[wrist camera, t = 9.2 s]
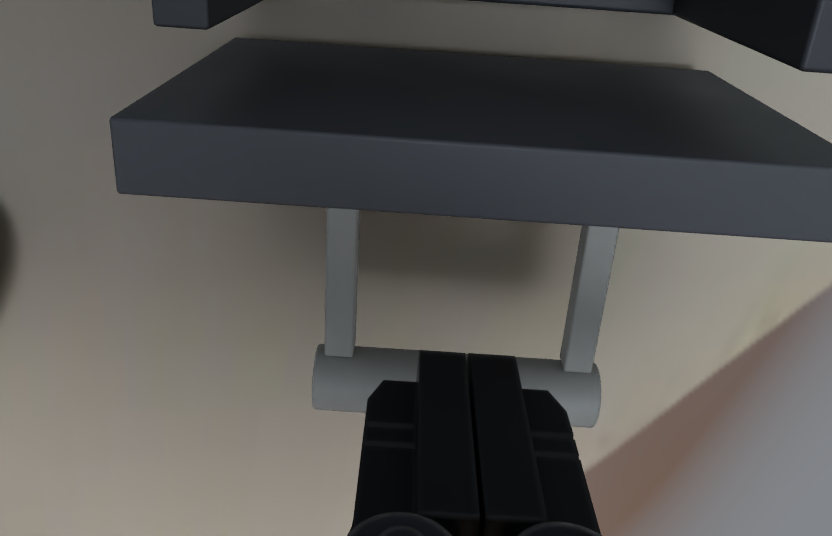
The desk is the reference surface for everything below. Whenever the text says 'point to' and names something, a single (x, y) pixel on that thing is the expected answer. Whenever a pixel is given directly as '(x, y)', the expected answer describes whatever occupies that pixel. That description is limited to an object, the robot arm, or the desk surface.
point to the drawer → (486, 156)
